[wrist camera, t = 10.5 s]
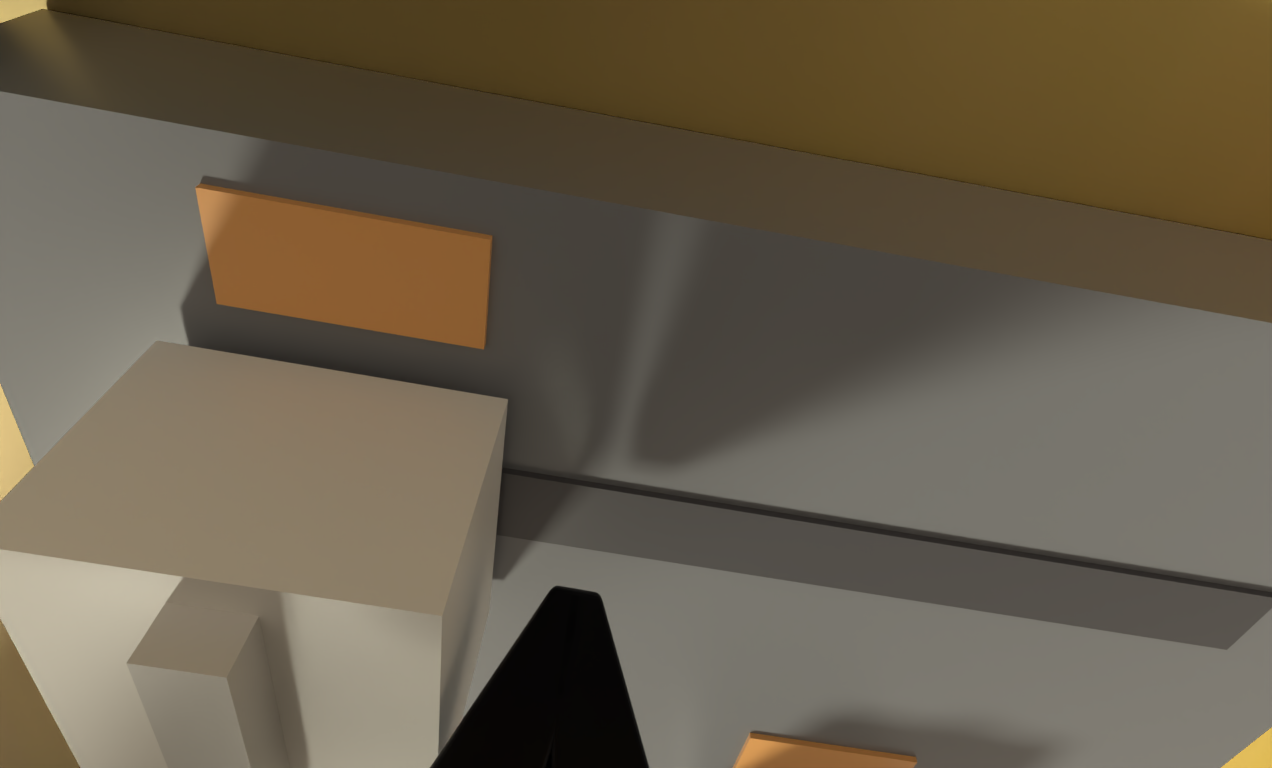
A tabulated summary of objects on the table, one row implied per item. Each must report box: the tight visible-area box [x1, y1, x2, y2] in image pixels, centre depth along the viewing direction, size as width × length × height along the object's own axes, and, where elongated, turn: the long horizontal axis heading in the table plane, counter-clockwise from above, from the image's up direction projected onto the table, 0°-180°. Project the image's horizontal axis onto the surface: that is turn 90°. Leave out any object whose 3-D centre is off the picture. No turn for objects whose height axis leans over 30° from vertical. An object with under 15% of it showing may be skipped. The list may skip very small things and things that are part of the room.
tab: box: [0, 341, 508, 768], centre depth 9 cm, size 4×4×4 cm
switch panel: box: [0, 9, 1272, 768], centre depth 14 cm, size 19×18×3 cm
